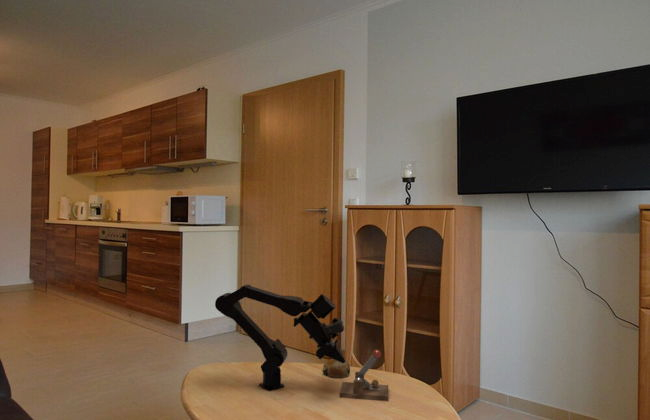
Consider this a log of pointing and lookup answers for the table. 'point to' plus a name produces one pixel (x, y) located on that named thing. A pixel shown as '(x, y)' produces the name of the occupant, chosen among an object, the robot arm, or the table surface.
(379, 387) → the base
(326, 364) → the bread roll
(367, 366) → the lever
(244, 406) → the table surface
